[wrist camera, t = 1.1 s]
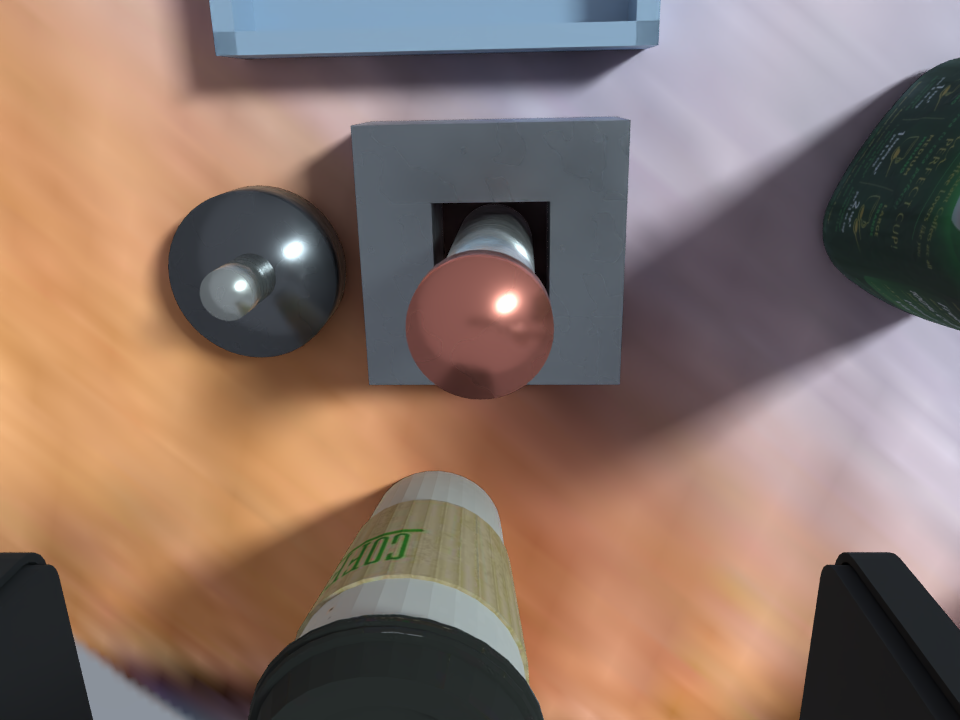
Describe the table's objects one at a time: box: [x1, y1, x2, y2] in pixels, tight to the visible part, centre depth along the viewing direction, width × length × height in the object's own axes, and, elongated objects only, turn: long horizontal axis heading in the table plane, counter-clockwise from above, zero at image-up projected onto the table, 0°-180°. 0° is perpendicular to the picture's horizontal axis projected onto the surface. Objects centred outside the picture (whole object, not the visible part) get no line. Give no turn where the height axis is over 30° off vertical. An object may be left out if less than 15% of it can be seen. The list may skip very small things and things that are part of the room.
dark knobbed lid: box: [168, 186, 346, 357], centre depth 32 cm, size 7×7×5 cm
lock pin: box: [406, 204, 554, 399], centre depth 27 cm, size 4×4×13 cm
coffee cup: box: [248, 471, 544, 720], centre depth 31 cm, size 10×10×15 cm
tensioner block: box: [351, 117, 631, 385], centre depth 31 cm, size 10×10×4 cm
